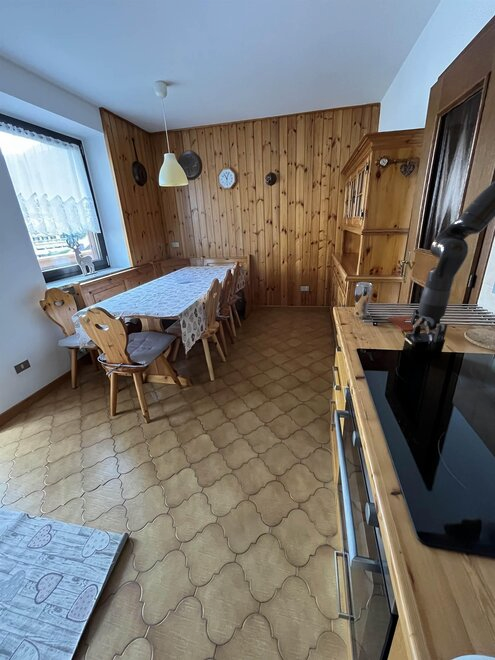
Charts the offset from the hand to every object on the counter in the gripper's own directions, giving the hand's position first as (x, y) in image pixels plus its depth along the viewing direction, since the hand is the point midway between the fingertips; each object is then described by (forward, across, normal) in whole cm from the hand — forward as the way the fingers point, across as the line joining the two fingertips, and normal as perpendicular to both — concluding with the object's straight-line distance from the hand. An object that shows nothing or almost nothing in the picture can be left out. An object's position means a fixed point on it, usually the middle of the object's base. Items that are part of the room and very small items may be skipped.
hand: (422, 343), depth 98 cm
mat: (+4, +23, -9) cm, 25 cm away
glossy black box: (+4, 0, 0) cm, 4 cm away
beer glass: (+5, +35, +7) cm, 36 cm away
